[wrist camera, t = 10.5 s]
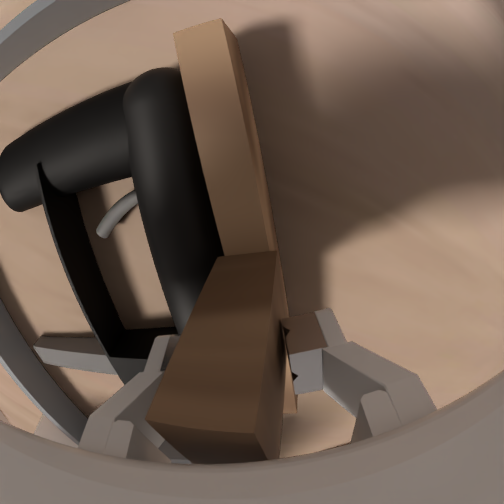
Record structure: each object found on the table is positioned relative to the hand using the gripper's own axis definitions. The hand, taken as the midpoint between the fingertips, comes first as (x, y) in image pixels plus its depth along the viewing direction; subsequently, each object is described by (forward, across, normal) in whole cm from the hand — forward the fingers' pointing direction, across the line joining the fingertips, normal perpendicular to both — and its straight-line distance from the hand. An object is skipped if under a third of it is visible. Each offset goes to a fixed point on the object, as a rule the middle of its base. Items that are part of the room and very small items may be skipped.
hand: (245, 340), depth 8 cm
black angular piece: (+6, +7, +1) cm, 9 cm away
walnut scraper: (+4, -1, -1) cm, 4 cm away
